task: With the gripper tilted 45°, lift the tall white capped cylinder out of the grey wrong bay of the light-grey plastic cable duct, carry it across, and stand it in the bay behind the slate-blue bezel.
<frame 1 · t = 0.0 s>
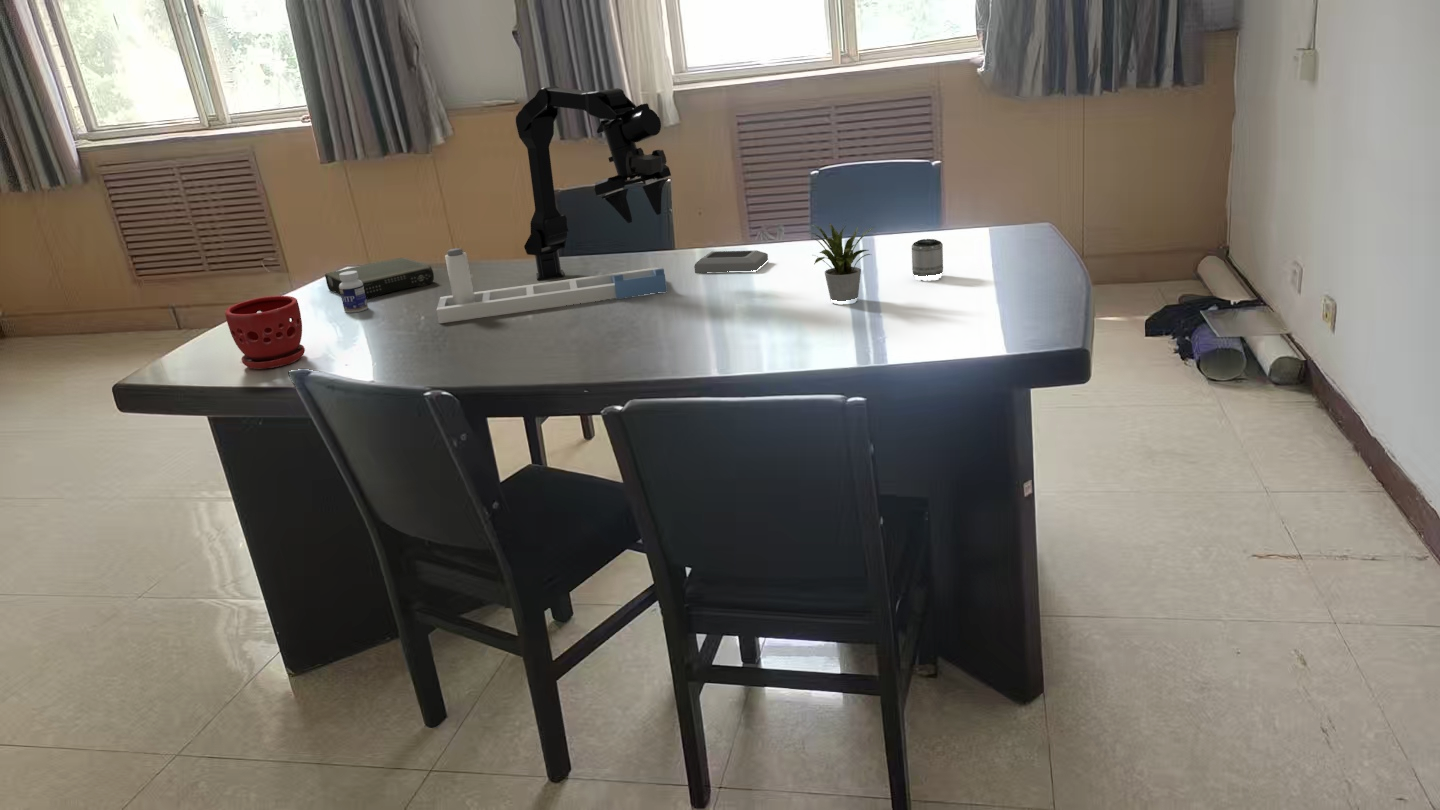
hand: (644, 218, 221), 15 cm above the table, tool pointing down, fingers open, 9 cm apart
plant pot: (276, 363, 198), on the table
camera lens: (927, 279, 210), on the table
house plant: (837, 302, 200), on the table
cable duct: (553, 300, 223), on the table
gray box with screen: (732, 270, 237), on the table
network switch: (382, 289, 256), on the table
pill bottle: (356, 311, 234), on the table
white capped cylinder: (466, 313, 221), resting in cable duct
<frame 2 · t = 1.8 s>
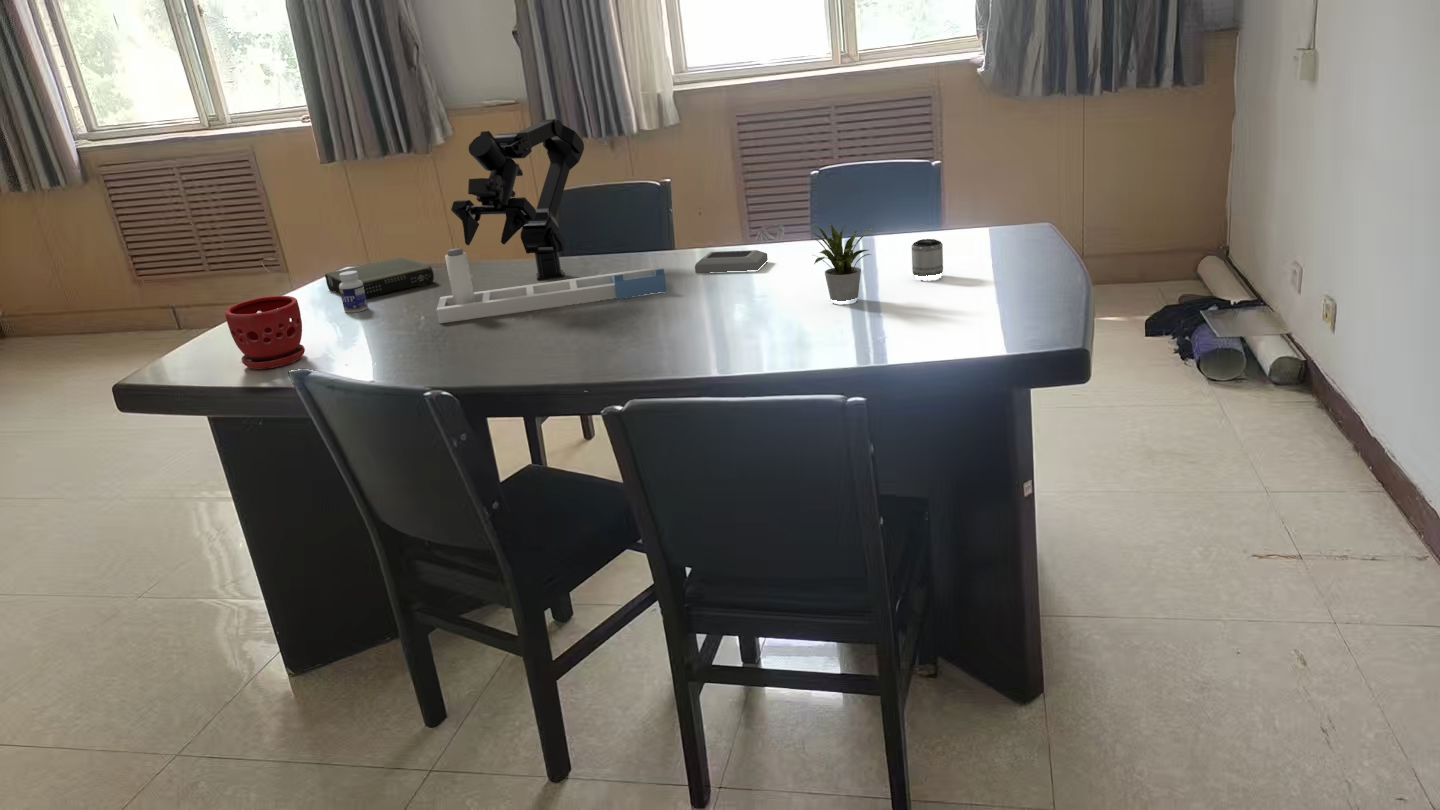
hand: (484, 243, 221), 14 cm above the table, tool tilted 40°, fingers open, 9 cm apart
nothing on the table moved.
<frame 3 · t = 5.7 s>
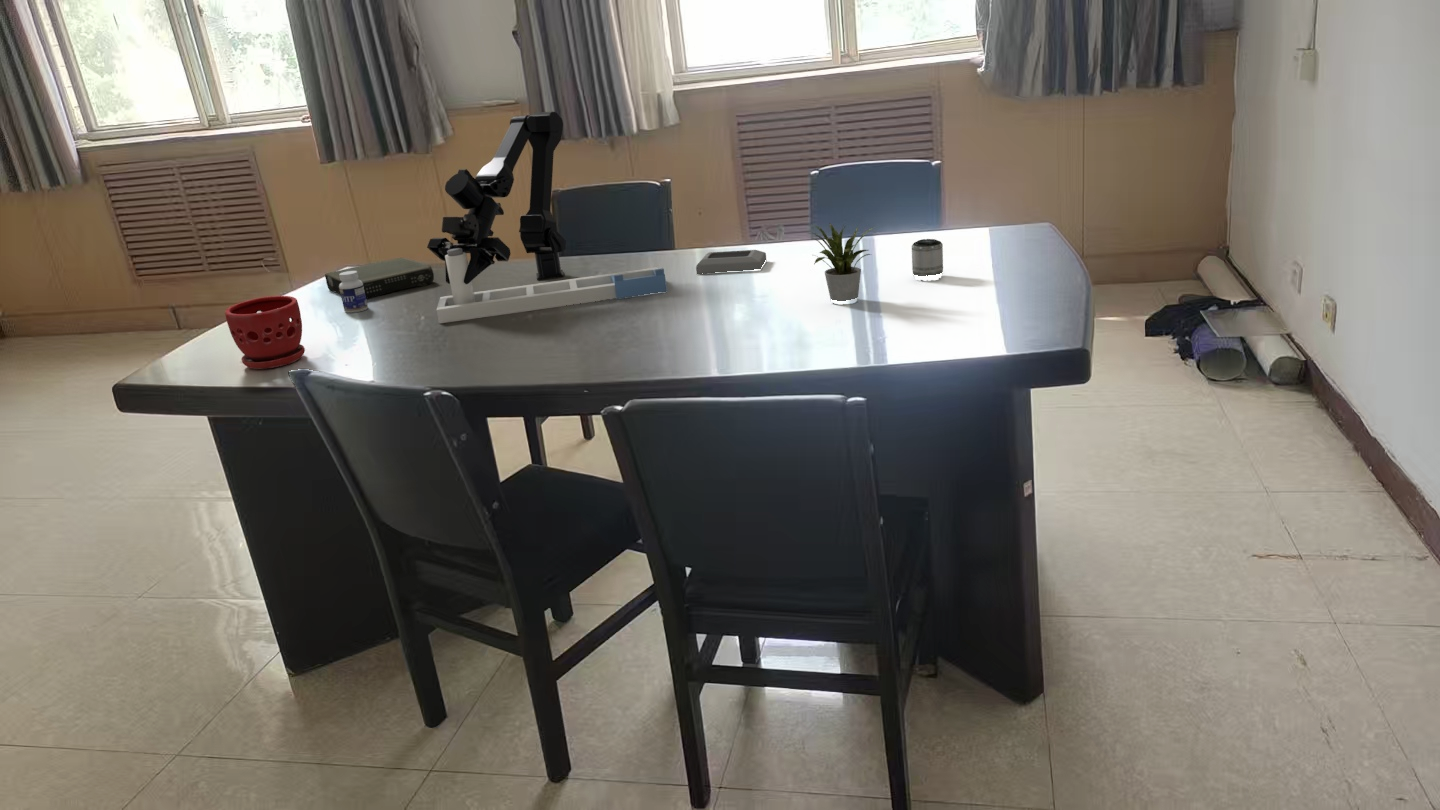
hand: (456, 283, 217), 7 cm above the table, tool tilted 45°, fingers closed on white capped cylinder, 4 cm apart
white capped cylinder: (466, 313, 221), resting in cable duct, touching gripper
everything else where it was.
when the fingers open (8 cm above the table, at t = 12.9 s): white capped cylinder drops 1 cm, resting in cable duct.
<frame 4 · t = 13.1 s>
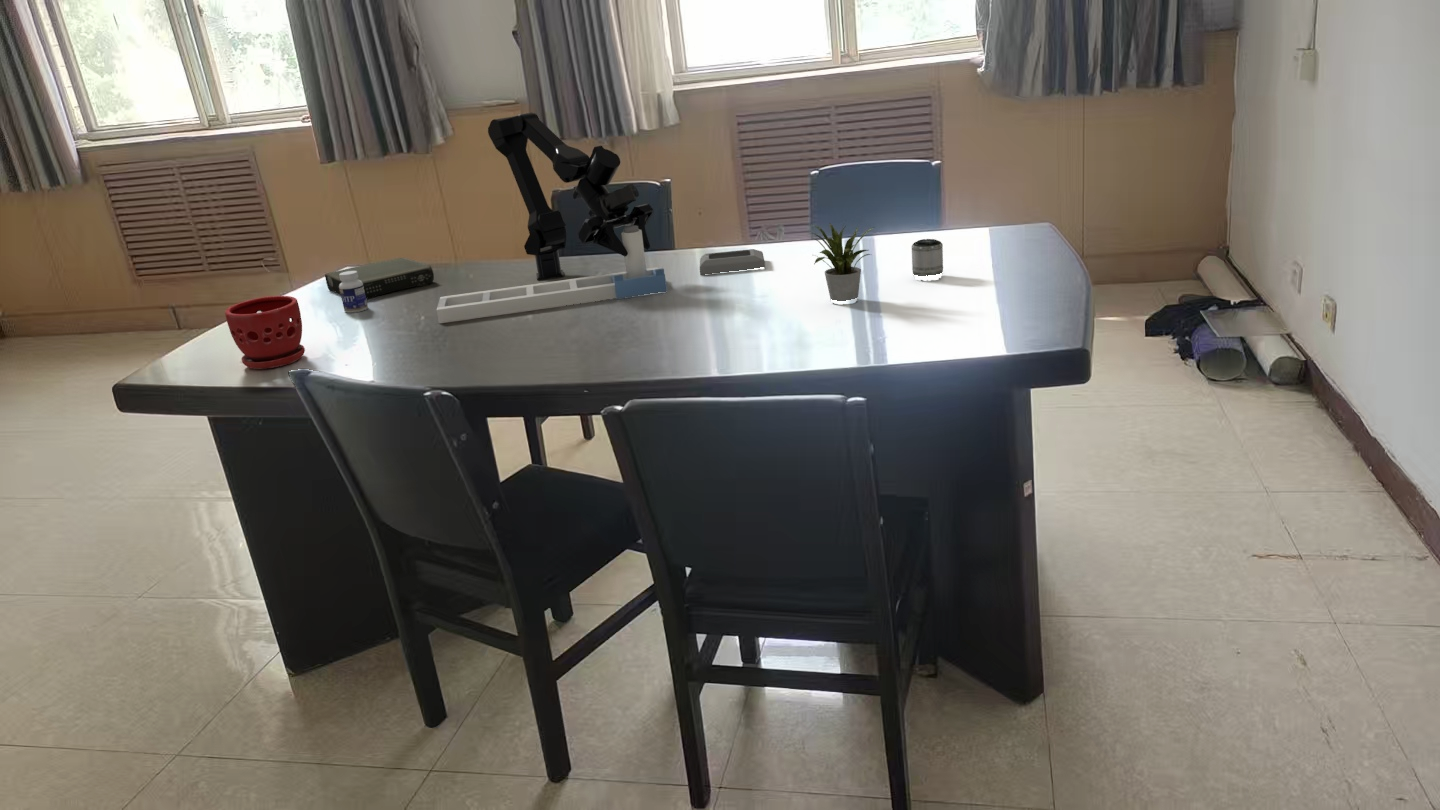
hand: (637, 251, 222), 9 cm above the table, tool tilted 45°, fingers open, 6 cm apart
white capped cylinder: (638, 288, 226), resting in cable duct
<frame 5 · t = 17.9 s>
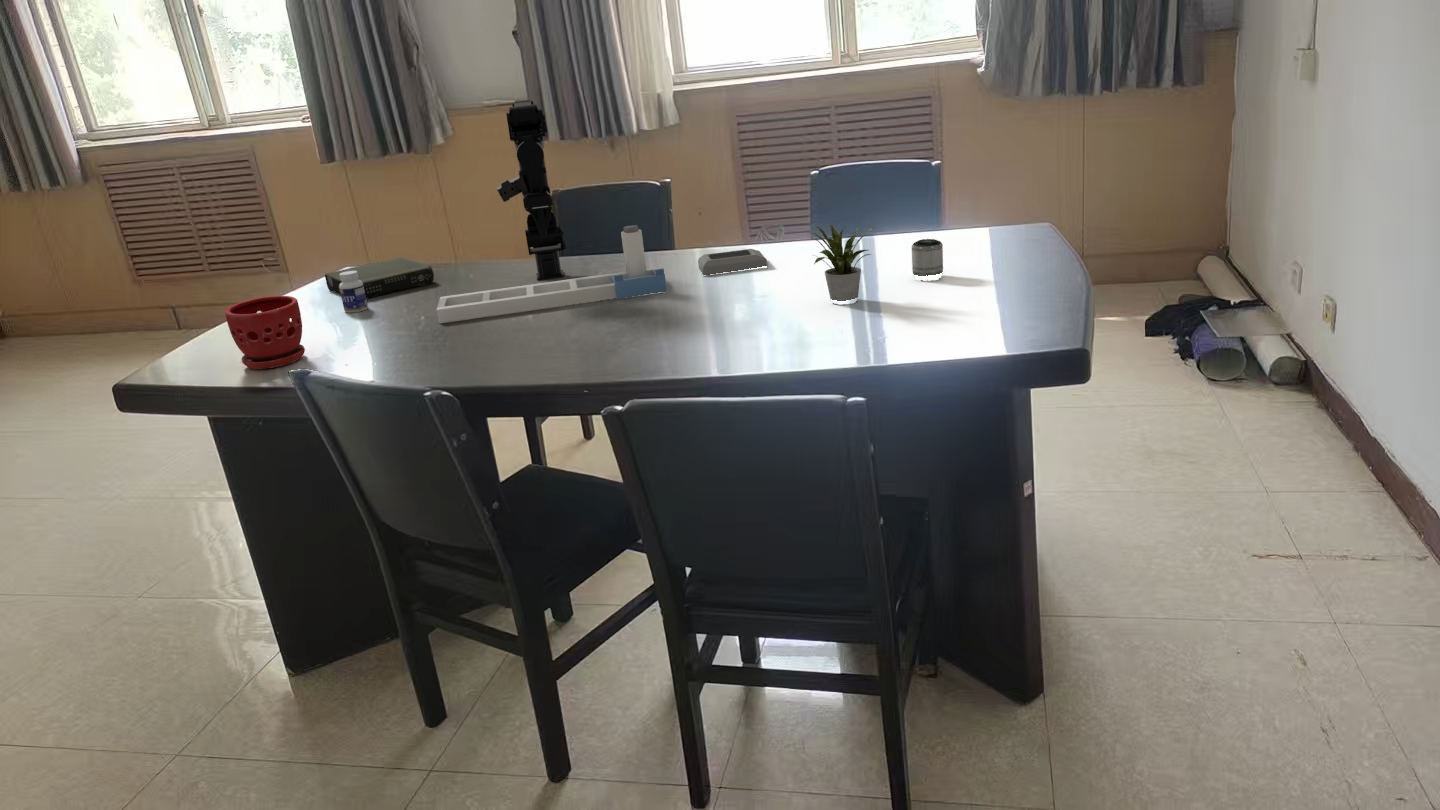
hand: (543, 233, 230), 13 cm above the table, tool pointing down, fingers open, 9 cm apart
at the end: white capped cylinder 0.0 cm from the target spot, resting in cable duct; white capped cylinder tilted 0°; the gripper is holding nothing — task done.
